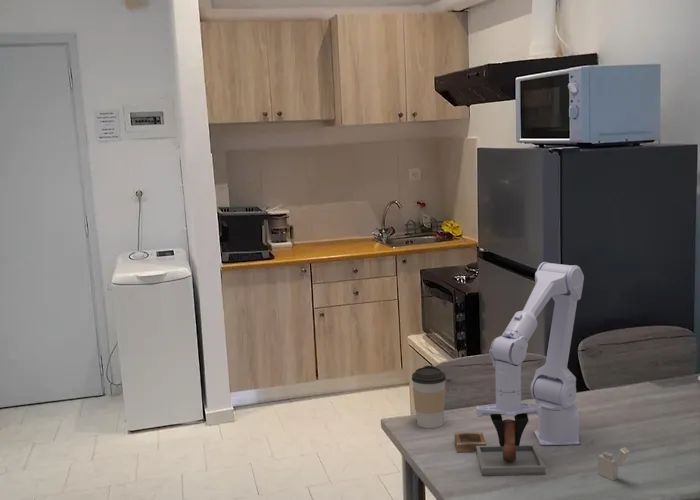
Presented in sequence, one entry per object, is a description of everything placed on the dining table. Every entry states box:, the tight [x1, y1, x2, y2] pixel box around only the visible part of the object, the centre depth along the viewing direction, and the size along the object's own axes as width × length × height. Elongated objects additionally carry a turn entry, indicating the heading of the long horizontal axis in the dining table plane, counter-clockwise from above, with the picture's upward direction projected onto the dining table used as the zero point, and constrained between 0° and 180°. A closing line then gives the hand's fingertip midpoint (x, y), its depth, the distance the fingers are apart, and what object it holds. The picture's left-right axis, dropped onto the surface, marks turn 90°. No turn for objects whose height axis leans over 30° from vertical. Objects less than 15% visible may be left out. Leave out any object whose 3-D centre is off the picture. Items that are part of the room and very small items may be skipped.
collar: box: [453, 431, 487, 453], centre depth 181 cm, size 7×7×2 cm
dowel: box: [502, 418, 516, 461], centre depth 170 cm, size 3×3×9 cm
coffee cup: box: [411, 365, 447, 429], centre depth 195 cm, size 9×9×15 cm
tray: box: [475, 444, 546, 477], centre depth 170 cm, size 14×12×2 cm
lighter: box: [597, 446, 631, 481], centre depth 160 cm, size 7×2×8 cm, turn 32°
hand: (509, 444), depth 170 cm, fingers closed on dowel, 3 cm apart
